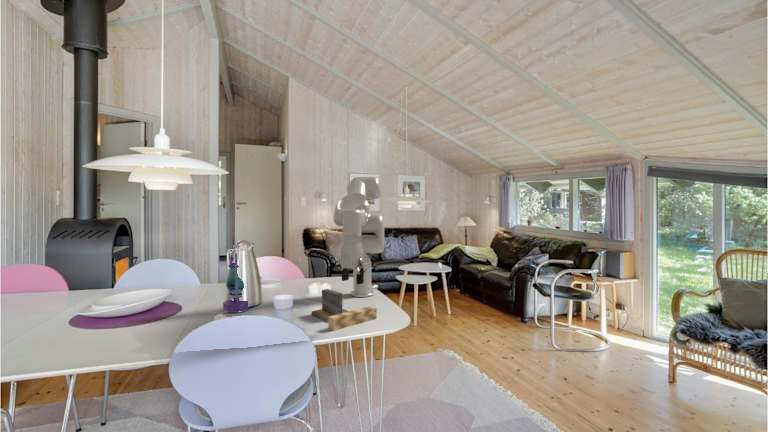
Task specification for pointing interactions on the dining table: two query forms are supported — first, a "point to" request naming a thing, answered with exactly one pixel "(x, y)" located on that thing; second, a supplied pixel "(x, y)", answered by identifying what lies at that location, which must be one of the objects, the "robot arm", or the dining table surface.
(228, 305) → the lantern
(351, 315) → the oak bar
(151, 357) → the dining table surface
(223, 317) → the unicorn horn
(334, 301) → the stand
